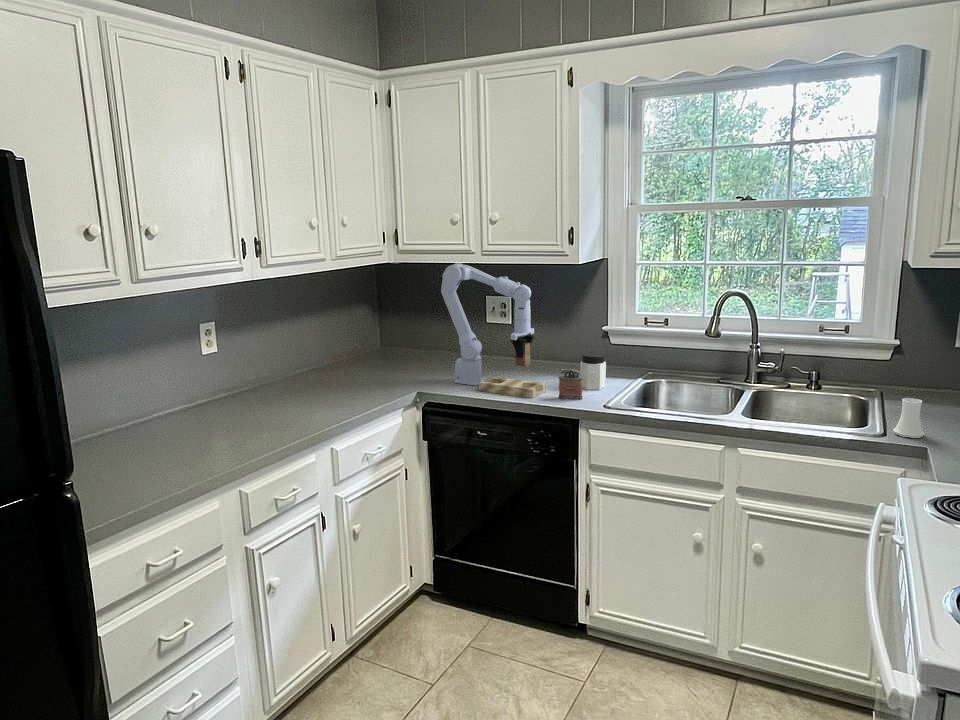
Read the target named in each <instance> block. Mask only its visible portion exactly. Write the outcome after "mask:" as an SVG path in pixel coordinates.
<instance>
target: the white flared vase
mask: <svg viewBox="0 0 960 720" xmlns="http://www.w3.org/2000/svg"><path fill="white" fill-rule="evenodd" d="M901 401H902V406H901V407H902V408H901V413H900V417H899V420H898V422H897V424H896V426H895V427H894V428H893V429H892V430H893V431H894V432H896V433H899V434H902V435H908V436H922V435H924V436H925V432H924V430H923V427H922V424H921V409H922V408H921V407H922V404H923V400H922V399H918V398H914V397H913V398H912V397H904V398H902V399H901ZM893 431H892V432H893Z"/></svg>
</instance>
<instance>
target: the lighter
mask: <svg viewBox="0 0 960 720" xmlns="http://www.w3.org/2000/svg"><path fill="white" fill-rule="evenodd" d="M560 374H564V375H558V382H559V383H558V384H559V385H558V387H559V388H558V390H559V392H558V399H560V400H570V401H572V400H573V401H575V400H576V401H581V400H583V388H582V380H583V377H581V376H580V370H575V369H573V368H571V369H562V368H561V369H560Z"/></svg>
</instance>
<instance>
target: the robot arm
mask: <svg viewBox="0 0 960 720" xmlns="http://www.w3.org/2000/svg"><path fill="white" fill-rule="evenodd" d="M466 280H467V281H468V280H474V281H477V282H479V283H483V284H485V285H488V286H491V287H492V288H493V289H494V291H495V293H499V294H501V295H503V296H505V297H508V298H511V299H512V298H513V300H514V310H513V311H514V331H513V332H512V333H511V334H510V342H511V344H512V346H513V348H514V352H516V356H517V357H518V358H523V354H524V346H525V343H530V348H531V346H532V344H533V340H534V339H535V335H534V334H535V328H534V327H531V324H532V323H531V319H532V318H531V299H530V298H531V295H532V290H531V288H530V287H529V286H527V285H526V284H521V282H519V281H517V282H515V281H513V280H511V279H509V276H499V277H494V276H492V275H490V274H488V273H486V272H484V271H482V270H480V269H478V268H475V267H473V266H470V265H468V264H464V263H461V262H457V263H456V262H455V263H454V264H451V265H448V266H447V267H446V268H445V270H444V271H443V273H442V282H441V286H440V287H441V289H440V292H441V295H442V298H443V301H444V303H445V305H446V308H447V310H448V313H449V315H450V317H451V320H452V322H453V325H454V328H455V331H456V333H457V335H458V344H459V345H460V346H459V347H460V355H461V357H458V358H457V359H456V360H455V363H454V364H455V365H454V382H453V383H455V384H462V385H470V386H479V382H481V381H483V380H485V379H483V378H482V377H483V373H482V372H483V370H482V367H483V366H482V356H481V354H480V353H481V352H482V350H483V345H482V343H481V341H480V340H479V339H478V338H477V336H476V334H475V333H474V332H473V330H472V329H471V326H470V323H469V320H468V319H467V316H466V313H465V311H464V309H463V306H462V303H461V301H460V299H459V296H458V294H457V289H458V288H459V286H460V283H461V282H462V281H466Z"/></svg>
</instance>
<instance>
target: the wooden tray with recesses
mask: <svg viewBox="0 0 960 720" xmlns="http://www.w3.org/2000/svg"><path fill="white" fill-rule="evenodd" d="M478 391H480V392H485V391H486V393H495V394H500V393H501V395H510V396H515V397H521V396H522V397H523V398H528V397H529V399H535V398H536V397H538V396H540V395H542V394H543V393H546V383H545V382H537V381H529V380H523V379H515V378H513V379H512V378H506V377H497V376H490V377H488V378H486V379H484V380H483V381H481V382H479V384H478ZM522 397H521V398H522Z"/></svg>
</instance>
